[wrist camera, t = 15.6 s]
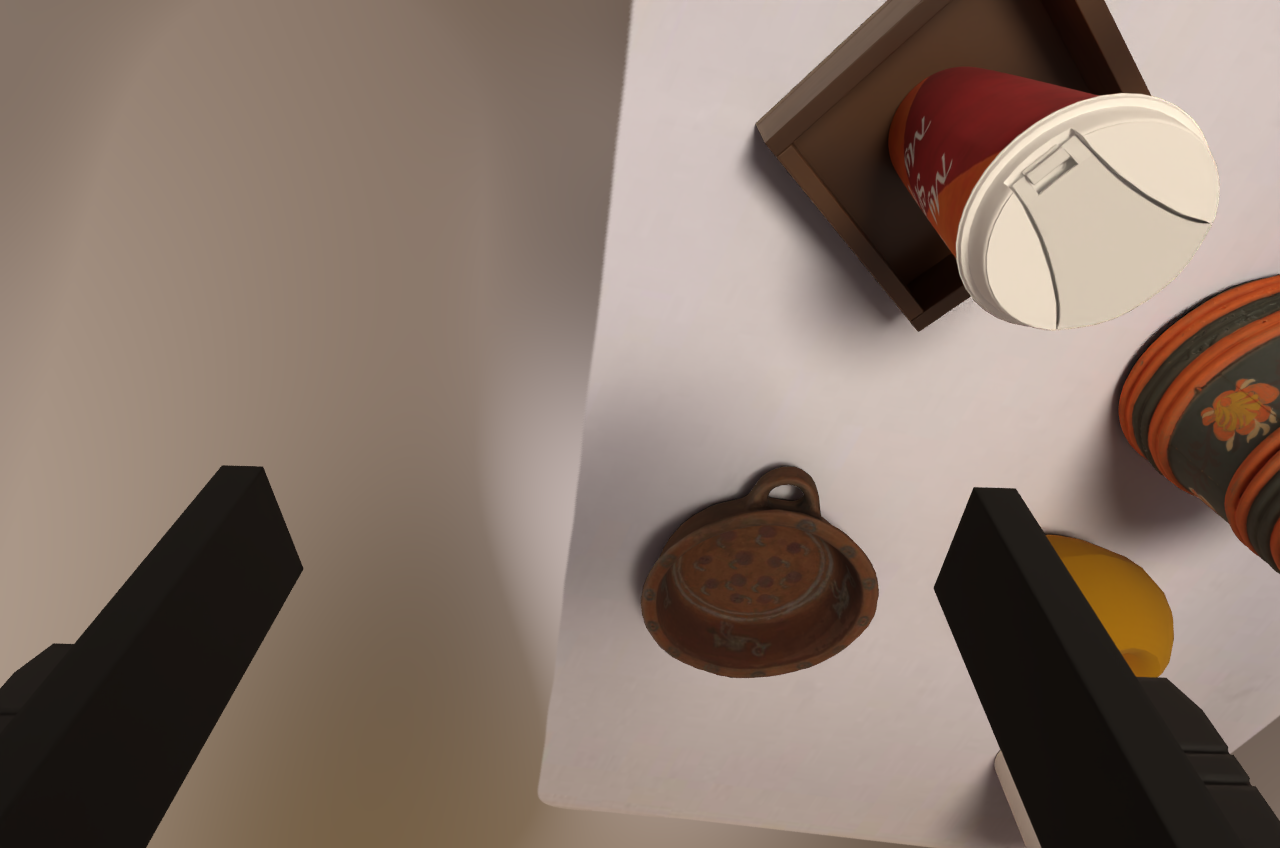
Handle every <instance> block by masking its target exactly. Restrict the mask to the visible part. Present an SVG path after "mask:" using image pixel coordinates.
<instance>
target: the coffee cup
mask: <svg viewBox="0 0 1280 848" xmlns="http://www.w3.org/2000/svg"><path fill="white" fill-rule="evenodd" d="M888 147H889V154H890V158H891V162H892V164H893V166H894V168H895V170H896V172H897V174H898V176H899V177H900V179H901V180H902V182H903V183H904V185H905V187H906V188H907V190H908V191H909V192H910V194H911V195H912V197H913V198H914V200H915V201H916V203H917V204H918V206H919V207H920V208H921V210H922V211H923V213H924V214H925V216H926V217H927V218H928V220H929V221H930V223H931V224H932V226H933V227H934V228H935V230H936V231H937V233H938V234H939V235H940V237H941V238H942V240H943V241H944V242H945V244H946V245H947V247H948V248H949V250H950V251H951V252H952V254H953V255H954V257H955V258H956V261H957V266H958V271H959V275H960V277H961V280H962V282H963V284H964V287H965V289H966V290H967V291H968V293H969V294H970V296H971V297H972V299H973V300H974V301H975V302H976V303H977V304H978V305H979V306H980V307H982V308H983V309H984V310H985V311H987V312H988V313H990V314H992V315H993V316H995V317H996V318H999V319H1001V320H1004V321H1007V322H1009V323H1013V324H1018V325H1023V326H1030V327H1033V328H1038V329H1044V330H1056V329H1058V330H1063V329H1072V328H1079V327H1085V326H1091V325H1096V324H1100V323H1103V322H1106V321H1109V320H1112V319H1115V318H1117V317H1119V316H1121V315H1123V314H1125V313H1127V312H1129V311H1131V310H1133V309H1134V308H1136V307H1138V306H1139V305H1141V304H1142V303H1144V302H1146V301H1147V300H1149V299H1150V298H1151V297H1153V296H1154V295H1155V294H1157V293H1158V292H1159V291H1161V290H1162V289H1163V288H1164V287H1166V286H1167V285H1168V284H1169V283H1170V282H1171V281H1172V280H1173V279H1175V278H1176V277H1177V276H1178V274H1179V273H1180V272H1181V271H1182V270H1183V269H1184V268H1185V266H1186V265H1187V264H1188V263H1189V262H1190V260H1191V258H1192V257H1193V255H1194V254H1195V252H1196V251H1197V249H1198V248H1199V246H1200V245H1201V243H1202V241H1203V240H1204V238H1205V236H1206V234H1207V233H1208V231H1209V229H1210V227H1211V226H1212V225H1211V224H1210V223H1213V221H1214V219H1215V216H1216V211H1217V206H1218V201H1219V177H1218V171H1217V166H1216V163H1215V161H1214V159H1213V156H1212V154H1211V152H1210V150H1209V147H1208V144H1207V142H1206V140H1205V137H1204V135H1203V133H1202V131H1201V129H1200V128H1199V127H1198V125H1197V124H1196V123H1195V121H1194V120H1193V119H1192V117H1190V116H1189V115H1188V114H1187V113H1185V112H1184V111H1183V110H1182V109H1180V108H1179V107H1178V106H1176V105H1174V104H1172V103H1169V102H1167V101H1165V100H1163V99H1161V98H1157V97H1152V96H1148V95H1144V94H1130V93H1118V94H1110V95H1102V96H1098V95H1094V94H1090V93H1086V92H1082V91H1078V90H1074V89H1070V88H1066V87H1061V86H1057V85H1053V84H1049V83H1045V82H1041V81H1037V80H1033V79H1028V78H1024V77H1020V76H1016V75H1011V74H1007V73H1002V72H998V71H993V70H988V69H983V68H977V67H954V68H949V69H945V70H942V71H939V72H937V73H935V74H933V75H931V76H929V77H927V78H926V79H924V80H923V81H921V82H920V83H919V84H918V85H916V86H915V87H914V88H913V89H912V90H911V91H910V92H909V93H908V95H907V96H906V97H905V98H904V100H903V101H902V102H901V104H900V105H899V107H898V109H897V111H896V113H895V115H894V117H893V120H892V123H891V126H890V131H889V138H888ZM1208 222H1210V223H1208Z"/></svg>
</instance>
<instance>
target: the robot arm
mask: <svg viewBox="0 0 1280 848" xmlns="http://www.w3.org/2000/svg"><path fill="white" fill-rule="evenodd" d="M302 571H303V566H302V564H301V561H300V559H299V556H298V554H297V551H296V549H295V546H294V544H293V541H292V539H291V536H290V533H289V531H288V528H287V526H286V523H285V521H284V518H283V516H282V513H281V511H280V508H279V506H278V503H277V501H276V498H275V496H274V493H273V491H272V488H271V486H270V483H269V481H268V478H267V476H266V473H265V470H264V468H263V467H256V466H221V467H220V469H219V470H218V471H217V472H216V473H215V475H214V476H213V477H212V478H211V480H210V481H209V482H208V483H207V484H206V486H205V487H204V488H203V489H202V490H201V492H200V493H199V494H198V495H197V496H196V498H195V499H194V500H193V501H192V502H191V504H190V505H189V506H188V507H187V509H186V510H185V511H184V512H183V513H182V515H181V516H180V517H179V518H178V520H177V521H176V522H175V523H174V524H173V525H172V527H171V528H170V529H169V530H168V532H167V533H166V534H165V535H164V536H163V537H162V539H161V540H160V541H159V542H158V543H157V545H156V546H155V547H154V548H153V550H152V551H151V552H150V553H149V554H148V556H147V557H146V558H145V559H144V560H143V562H142V563H141V564H140V565H139V566H138V568H137V569H136V570H135V571H134V573H133V574H132V575H131V576H130V577H129V579H128V580H127V581H126V582H125V583H124V585H123V586H122V587H121V588H120V589H119V591H118V592H117V593H116V594H115V596H114V597H113V598H112V599H111V600H110V601H109V603H108V604H107V605H106V606H105V607H104V609H103V610H102V611H101V612H100V614H99V615H98V616H97V617H96V618H95V620H94V621H93V622H92V623H91V624H90V626H89V627H88V628H87V629H86V630H85V632H84V633H83V634H82V635H81V636H80V638H79V639H78V640H77V641H76V643H75V644H52V645H51V646H50V647H48V648H47V649H45V650H44V651H43V652H41V653H40V654H39V655H37V656H36V657H35V658H33V659H32V660H31V661H29V662H28V663H27V664H25V665H24V666H23V667H21V668H20V669H19V670H17V671H16V672H14V674H13V675H12V676H11V677H10V678H9V679H8V680H7V681H6V683H5V684H4V685H3V686H2V687H1V688H0V848H146V847H147V845H148V843H149V841H150V840H151V838H152V836H153V834H154V833H155V831H156V829H157V827H158V825H159V824H160V822H161V820H162V818H163V817H164V815H165V813H166V811H167V810H168V808H169V806H170V804H171V802H172V801H173V799H174V797H175V795H176V794H177V792H178V790H179V788H180V787H181V785H182V783H183V781H184V779H185V778H186V776H187V774H188V772H189V770H190V769H191V767H192V765H193V764H194V762H195V760H196V758H197V756H198V755H199V753H200V751H201V749H202V747H203V746H204V744H205V742H206V741H207V739H208V737H209V735H210V733H211V732H212V730H213V728H214V726H215V725H216V723H217V721H218V719H219V717H220V716H221V714H222V712H223V710H224V709H225V707H226V705H227V703H228V702H229V700H230V698H231V696H232V694H233V693H234V691H235V689H236V687H237V686H238V684H239V682H240V680H241V679H242V677H243V675H244V673H245V671H246V670H247V668H248V666H249V664H250V663H251V661H252V659H253V657H254V655H255V654H256V652H257V650H258V648H259V646H260V645H261V643H262V641H263V640H264V638H265V636H266V634H267V632H268V631H269V629H270V627H271V625H272V624H273V622H274V620H275V618H276V617H277V615H278V613H279V611H280V610H281V608H282V606H283V604H284V602H285V601H286V599H287V597H288V595H289V594H290V592H291V590H292V588H293V586H294V585H295V583H296V581H297V579H298V578H299V576H300V574H301V572H302ZM934 591H935V593H936V595H937V598H938V600H939V603H940V605H941V607H942V610H943V612H944V615H945V617H946V619H947V622H948V624H949V627H950V629H951V631H952V634H953V636H954V639H955V641H956V644H957V646H958V648H959V651H960V653H961V656H962V658H963V660H964V663H965V665H966V668H967V670H968V672H969V675H970V677H971V680H972V682H973V684H974V687H975V689H976V692H977V694H978V696H979V699H980V701H981V704H982V706H983V709H984V711H985V713H986V716H987V718H988V721H989V723H990V725H991V728H992V730H993V733H994V735H995V737H996V740H997V742H998V745H999V747H1000V749H1001V752H1002V754H1003V757H1004V759H1005V761H1006V764H1007V766H1008V769H1009V771H1010V774H1011V776H1012V778H1013V781H1014V783H1015V786H1016V788H1017V790H1018V793H1019V795H1020V798H1021V800H1022V802H1023V805H1024V807H1025V810H1026V812H1027V814H1028V817H1029V819H1030V822H1031V824H1032V826H1033V829H1034V831H1035V834H1036V836H1037V839H1038V841H1039V843H1040V846H1041V848H1280V821H1279V820H1278V818H1277V817H1276V815H1275V814H1274V812H1273V811H1272V809H1271V808H1270V806H1269V805H1268V804H1267V802H1266V801H1265V799H1264V798H1263V796H1262V795H1261V794H1260V792H1259V791H1258V789H1257V788H1256V787H1255V786H1252V785H1251V784H1250V782H1249V779H1250V778H1249V776H1248V775H1247V773H1246V772H1245V771H1244V769H1243V768H1242V766H1241V765H1240V763H1239V762H1238V761H1237V759H1236V758H1235V757H1234V755H1230V754H1229V752H1228V746H1227V745H1226V743H1225V742H1224V740H1223V739H1222V738H1221V736H1220V735H1219V733H1218V732H1217V730H1216V729H1215V728H1214V726H1213V725H1212V723H1211V722H1210V720H1209V719H1208V717H1207V716H1206V715H1205V713H1204V712H1203V710H1202V709H1201V708H1199V707H1198V706H1197V705H1196V704H1195V703H1194V702H1193V701H1192V700H1190V699H1189V698H1188V697H1187V696H1186V695H1185V694H1184V693H1183V692H1182V691H1180V690H1179V689H1178V688H1177V687H1176V686H1175V685H1174V684H1173V683H1171V682H1170V681H1169V680H1168V679H1167V678H1158V677H1136V676H1135V675H1134V673H1133V671H1132V670H1131V668H1130V667H1129V665H1128V664H1127V662H1126V660H1125V659H1124V657H1123V656H1122V654H1121V653H1120V651H1119V649H1118V648H1117V646H1116V645H1115V643H1114V642H1113V640H1112V638H1111V637H1110V635H1109V634H1108V632H1107V631H1106V629H1105V628H1104V626H1103V624H1102V623H1101V621H1100V620H1099V618H1098V617H1097V615H1096V613H1095V612H1094V610H1093V609H1092V607H1091V606H1090V604H1089V602H1088V601H1087V599H1086V598H1085V596H1084V595H1083V593H1082V591H1081V590H1080V588H1079V587H1078V585H1077V584H1076V582H1075V581H1074V579H1073V577H1072V576H1071V574H1070V573H1069V571H1068V570H1067V568H1066V566H1065V565H1064V563H1063V562H1062V560H1061V559H1060V557H1059V555H1058V554H1057V552H1056V551H1055V549H1054V548H1053V546H1052V545H1051V543H1050V541H1049V540H1048V538H1047V537H1046V535H1045V534H1044V532H1043V530H1042V529H1041V527H1040V526H1039V524H1038V523H1037V521H1036V519H1035V518H1034V516H1033V515H1032V513H1031V512H1030V510H1029V508H1028V507H1027V505H1026V504H1025V502H1024V501H1023V499H1022V498H1021V496H1020V494H1019V493H1018V491H1017V490H1016V489H1014V488H979V487H974V488H973V490H972V493H971V495H970V498H969V500H968V503H967V506H966V508H965V511H964V513H963V516H962V518H961V521H960V523H959V526H958V528H957V531H956V533H955V536H954V538H953V541H952V543H951V546H950V548H949V551H948V553H947V556H946V558H945V561H944V563H943V566H942V568H941V571H940V573H939V576H938V578H937V581H936V583H935V586H934Z"/></svg>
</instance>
